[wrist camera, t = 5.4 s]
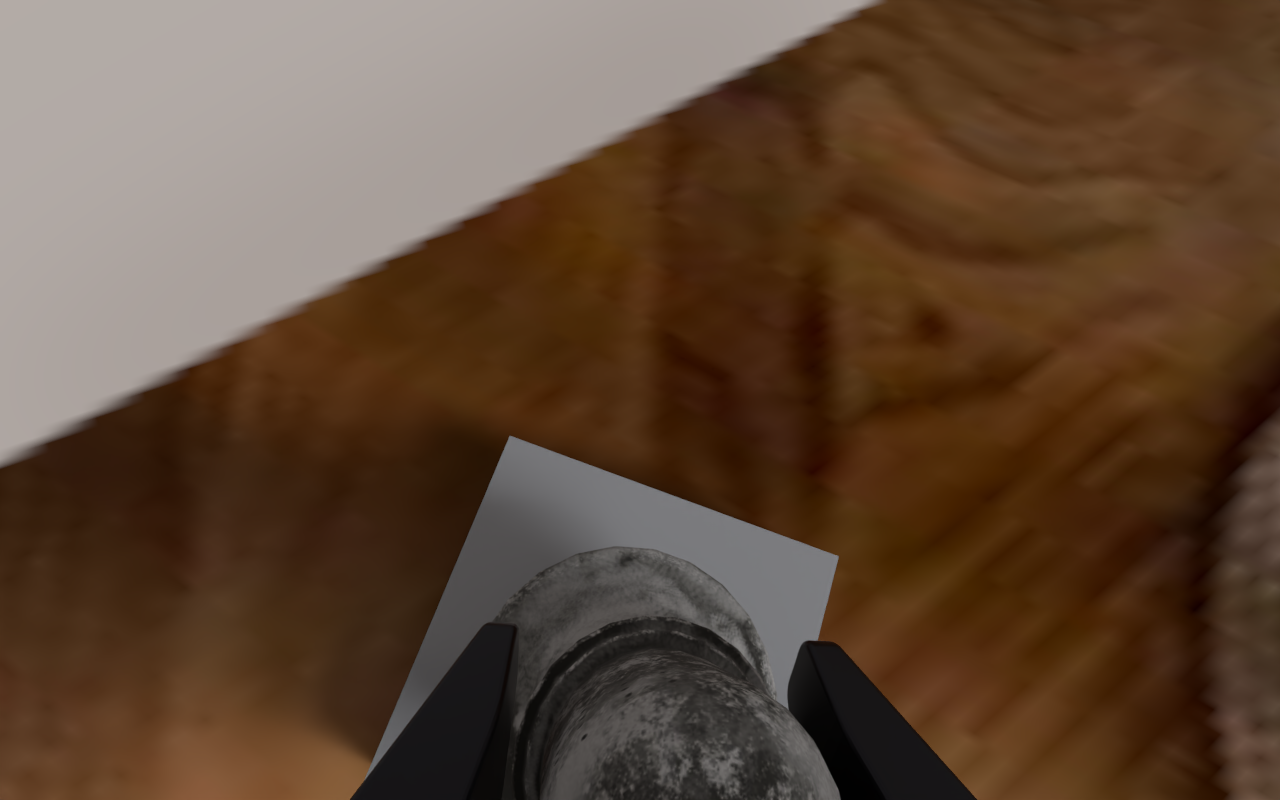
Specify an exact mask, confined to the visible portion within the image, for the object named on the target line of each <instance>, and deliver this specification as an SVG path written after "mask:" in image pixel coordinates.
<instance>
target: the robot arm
mask: <svg viewBox="0 0 1280 800" xmlns="http://www.w3.org/2000/svg"><path fill="white" fill-rule="evenodd" d="M518 652H519V628H518V626H517V625H516V624H514V623H500V622H488V623H486V624H484V625H483V626H482V627H481V628H480V629H479V631H478V632H477V633H476V635H475V636H474V637H473V639H472V640H471V641H470V643H469V644H468V645H467V646H466V648H465V649H464V650H463V652H462V653H461V654H460V656H459V657H458V658H457V660H456V661H455V662H454V664H453V665H452V666H451V668H450V669H449V670H448V671H447V673H446V674H445V675H444V677H443V678H442V679H441V681H440V682H439V683H438V685H437V686H436V687H435V689H434V690H433V691H432V692H431V694H430V695H429V696H428V698H427V699H426V700H425V702H424V703H423V704H422V706H421V707H420V708H419V710H418V711H417V712H416V714H415V715H414V716H413V717H412V719H411V720H410V721H409V723H408V724H407V725H406V727H405V728H404V729H403V731H402V732H401V733H400V735H399V736H398V737H397V738H396V740H395V741H394V742H393V744H392V745H391V746H390V748H389V749H388V750H387V752H386V753H385V754H384V756H383V757H382V758H381V760H380V761H379V762H378V763H377V765H376V766H375V767H374V769H373V770H372V771H371V773H370V774H369V775H368V777H367V778H366V779H365V781H364V782H363V783H362V784H361V786H360V787H359V788H358V790H357V791H356V792H355V794H354V795H353V796H352V798H351V799H350V800H501V799H502V792H503V785H504V777H505V770H506V762H507V754H508V747H509V739H510V731H511V724H512V716H513V709H514V701H515V693H516V686H517V676H518ZM787 700H788V709H789V711H790V712H791V714H792V715H793V716H794V717H795V718H796V720H797V721H798V722H799V723H800V724H801V726H802V727H803V728H804V729H805V730H806V732H807V733H808V734H809V735H810V736H811V738H812V739H813V740H814V742H815V744H816V746H817V747H818V749H819V751H820V753H821V755H822V757H823V759H824V761H825V763H826V765H827V767H828V769H829V771H830V774H831V776H832V778H833V780H834V782H835V784H836V786H837V788H838V790H839V794H840V798H841V800H977V799H976V798H975V797H974V796H973V795H972V793H971V792H970V791H969V790H968V789H967V788H966V787H965V786H964V785H963V783H962V782H961V781H960V780H959V779H958V778H957V777H956V776H955V774H954V773H953V772H952V771H951V770H950V769H949V768H948V767H947V766H946V764H945V763H944V762H943V761H942V760H941V759H940V758H939V757H938V755H937V754H936V753H935V752H934V751H933V750H932V749H931V748H930V747H929V745H928V744H927V743H926V742H925V741H924V740H923V739H922V738H921V736H920V735H919V734H918V733H917V732H916V731H915V730H914V729H913V728H912V726H911V725H910V724H909V723H908V722H907V721H906V720H905V719H904V717H903V716H902V715H901V714H900V713H899V712H898V711H897V710H896V709H895V707H894V706H893V705H892V704H891V703H890V702H889V701H888V700H887V698H886V697H885V696H884V695H883V694H882V693H881V692H880V691H879V690H878V688H877V687H876V686H875V685H874V684H873V683H872V682H871V681H870V679H869V678H868V677H867V676H866V675H865V674H864V673H863V672H862V671H861V669H860V668H859V667H858V666H857V665H856V664H855V663H854V662H853V660H852V659H851V658H850V657H849V656H848V655H847V654H846V653H845V652H844V650H843V649H842V648H841V647H840V646H839V645H837V644H836V643H834V642H829V641H813V640H807V641H805V642H803V643H802V644H801V646H800V648H799V651H798V654H797V658H796V661H795V664H794V667H793V670H792V673H791V676H790V679H789V682H788V688H787Z"/></svg>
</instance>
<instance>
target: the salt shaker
mask: <svg viewBox="0 0 1280 800" xmlns="http://www.w3.org/2000/svg"><path fill="white" fill-rule="evenodd" d="M492 622H500V623H514V624H516V625H517V626H518V628H519V652H518V676H517V686H516V693H515V701H514V709H513V716H512V724H511V731H510V739H509V747H508V754H507V762H506V770H505V777H504V785H503V792H502V799H501V800H841V798H840V794H839V790H838V788H837V786H836V784H835V782H834V780H833V778H832V776H831V774H830V771H829V769H828V767H827V765H826V763H825V761H824V759H823V757H822V755H821V753H820V751H819V749H818V747H817V746H816V744H815V742H814V740H813V739H812V738H811V736H810V735H809V734H808V733H807V732H806V730H805V729H804V728H803V727H802V726H801V724H800V723H799V722H798V721H797V720H796V718H795V717H794V716H793V715H792V714H791V712H790V711H789V710H788V709H787V708H786V707H784V706H783V705H782V704H780V703H779V702H777V692H776V687H775V683H774V679H773V674H772V670H771V665H770V661H769V657H768V652H767V650H766V648H765V646H764V644H763V642H762V640H761V638H760V636H759V634H758V632H757V630H756V628H755V626H754V624H753V622H752V620H751V618H750V616H749V615H748V614H747V612H746V611H745V610H744V609H743V608H742V607H741V605H740V604H739V603H738V602H737V601H736V600H735V598H734V597H733V596H732V595H731V594H730V593H729V591H728V590H727V589H726V588H725V587H724V586H723V584H721V583H720V582H718V581H717V580H715V579H714V578H713V577H711V576H710V575H708V574H707V573H705V572H704V571H702V570H701V569H700V568H698V567H697V566H695V565H694V564H692V563H691V562H689V561H686V560H683V559H680V558H678V557H675V556H672V555H669V554H666V553H664V552H661V551H658V550H655V549H647V548H633V547H620V546H613V547H608V548H603V549H598V550H593V551H588V552H583V553H578V554H575V555H573V556H571V557H569V558H567V559H565V560H563V561H561V562H559V563H557V564H555V565H553V566H551V567H548V568H546V569H544V570H542V571H540V572H539V573H538V574H537V575H536V576H534V577H533V578H532V579H531V580H530V581H529V582H527V583H526V584H525V585H524V586H523V587H522V588H521V589H519V590H518V591H517V592H516V593H515V594H514V595H512V596H511V597H510V598H509V599H508V600H507V601H506V603H505V604H504V606H503V607H502V609H501V610H500V611H499V613H498V614H497V616H496V617H495V619H494V620H493V621H492Z"/></svg>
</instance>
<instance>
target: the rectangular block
mask: <svg viewBox="0 0 1280 800" xmlns="http://www.w3.org/2000/svg"><path fill="white" fill-rule="evenodd" d="M613 546H620V547H633V548H647V549H655V550H658V551H661V552H664V553H666V554H669V555H672V556H675V557H678V558H680V559H683V560H686V561H689V562H691V563H692V564H694V565H695V566H697V567H698V568H700V569H701V570H702V571H704V572H705V573H707V574H708V575H710V576H711V577H713V578H714V579H715V580H717V581H718V582H720V583H721V584H723V586H724V587H725V588H726V589H727V590H728V591H729V593H730V594H731V595H732V596H733V597H734V598H735V600H736V601H737V602H738V603H739V604H740V605H741V607H742V608H743V609H744V610H745V611H746V612H747V614H748V615H749V616H750V618H751V620H752V622H753V624H754V626H755V628H756V630H757V632H758V634H759V636H760V638H761V640H762V642H763V644H764V646H765V648H766V650H767V652H768V657H769V661H770V665H771V670H772V674H773V679H774V683H775V687H776V692H777V702H779V703H780V704H782V705H783V706H784V707H786V708H787V709H788V700H787V688H788V682H789V679H790V676H791V673H792V670H793V667H794V664H795V661H796V658H797V654H798V651H799V648H800V646H801V644H802V643H803V642H805V641H807V640H813V641H817V640H818V636H819V632H820V628H821V624H822V620H823V616H824V612H825V609H826V605H827V601H828V597H829V593H830V589H831V585H832V581H833V577H834V573H835V569H836V565H837V561H838V558H839V556H836V555H833V554H831V553H828V552H825V551H822V550H820V549H817V548H814V547H812V546H809V545H806V544H803V543H801V542H798V541H795V540H793V539H790V538H787V537H784V536H782V535H779V534H776V533H773V532H771V531H768V530H765V529H763V528H760V527H757V526H754V525H752V524H749V523H746V522H743V521H741V520H738V519H735V518H733V517H730V516H727V515H724V514H722V513H719V512H716V511H714V510H711V509H708V508H705V507H703V506H700V505H697V504H694V503H692V502H689V501H686V500H684V499H681V498H678V497H675V496H673V495H670V494H667V493H665V492H662V491H659V490H656V489H654V488H651V487H648V486H645V485H643V484H640V483H637V482H635V481H632V480H629V479H626V478H624V477H621V476H618V475H616V474H613V473H610V472H607V471H605V470H602V469H599V468H596V467H594V466H591V465H588V464H586V463H583V462H580V461H577V460H575V459H572V458H569V457H566V456H564V455H561V454H558V453H556V452H553V451H550V450H547V449H545V448H542V447H539V446H537V445H534V444H531V443H528V442H526V441H523V440H520V439H517V438H515V437H512V436H509V439H508V441H507V444H506V446H505V448H504V451H503V453H502V455H501V458H500V460H499V462H498V465H497V467H496V470H495V472H494V474H493V477H492V479H491V481H490V484H489V486H488V489H487V491H486V493H485V496H484V498H483V500H482V503H481V505H480V508H479V510H478V512H477V515H476V517H475V519H474V522H473V524H472V526H471V529H470V531H469V534H468V536H467V538H466V541H465V543H464V545H463V548H462V550H461V553H460V555H459V557H458V560H457V562H456V564H455V567H454V569H453V572H452V574H451V576H450V579H449V581H448V583H447V586H446V588H445V590H444V593H443V595H442V598H441V600H440V602H439V605H438V607H437V609H436V612H435V614H434V617H433V619H432V621H431V624H430V626H429V628H428V631H427V633H426V636H425V638H424V640H423V643H422V645H421V647H420V650H419V652H418V654H417V657H416V659H415V662H414V664H413V666H412V669H411V671H410V673H409V676H408V678H407V681H406V683H405V685H404V688H403V690H402V692H401V695H400V697H399V700H398V702H397V704H396V707H395V709H394V711H393V714H392V716H391V718H390V721H389V723H388V726H387V728H386V730H385V733H384V735H383V737H382V740H381V742H380V745H379V747H378V749H377V752H376V754H375V756H374V759H373V761H372V764H371V766H370V768H369V771H368V773H367V775H366V778H367V777H368V775H369V774H370V773H371V771H372V770H373V769H374V767H375V766H376V765H377V763H378V762H379V761H380V760H381V758H382V757H383V756H384V754H385V753H386V752H387V750H388V749H389V748H390V746H391V745H392V744H393V742H394V741H395V740H396V738H397V737H398V736H399V735H400V733H401V732H402V731H403V729H404V728H405V727H406V725H407V724H408V723H409V721H410V720H411V719H412V717H413V716H414V715H415V714H416V712H417V711H418V710H419V708H420V707H421V706H422V704H423V703H424V702H425V700H426V699H427V698H428V696H429V695H430V694H431V692H432V691H433V690H434V689H435V687H436V686H437V685H438V683H439V682H440V681H441V679H442V678H443V677H444V675H445V674H446V673H447V671H448V670H449V669H450V668H451V666H452V665H453V664H454V662H455V661H456V660H457V658H458V657H459V656H460V654H461V653H462V652H463V650H464V649H465V648H466V646H467V645H468V644H469V643H470V641H471V640H472V639H473V637H474V636H475V635H476V633H477V632H478V631H479V629H480V628H481V627H482V626H483V625H484V624H486V623H488V622H492V621H493V620H494V619H495V617H496V616H497V614H498V613H499V611H500V610H501V609H502V607H503V606H504V604H505V603H506V601H507V600H508V599H509V598H510V597H511V596H512V595H514V594H515V593H516V592H517V591H518V590H519V589H521V588H522V587H523V586H524V585H525V584H526V583H527V582H529V581H530V580H531V579H532V578H533V577H534V576H536V575H537V574H538V573H539V572H540V571H542V570H544V569H546V568H548V567H551V566H553V565H555V564H557V563H559V562H561V561H563V560H565V559H567V558H569V557H571V556H573V555H575V554H578V553H583V552H588V551H593V550H598V549H603V548H608V547H613ZM788 710H789V709H788ZM366 778H365V779H366ZM364 781H365V780H364Z"/></svg>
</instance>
